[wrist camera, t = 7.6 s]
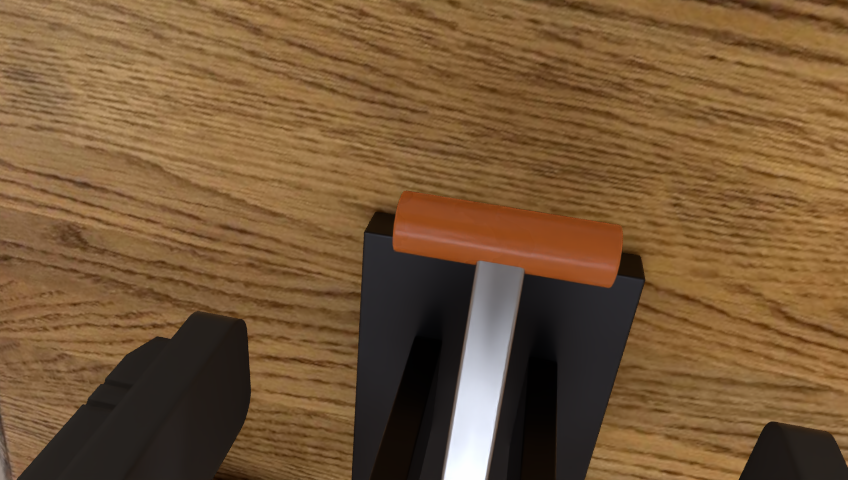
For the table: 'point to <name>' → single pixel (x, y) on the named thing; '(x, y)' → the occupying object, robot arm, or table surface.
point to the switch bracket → (441, 353)
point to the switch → (497, 295)
